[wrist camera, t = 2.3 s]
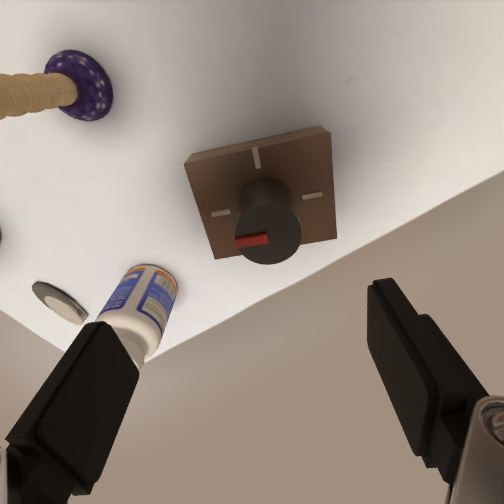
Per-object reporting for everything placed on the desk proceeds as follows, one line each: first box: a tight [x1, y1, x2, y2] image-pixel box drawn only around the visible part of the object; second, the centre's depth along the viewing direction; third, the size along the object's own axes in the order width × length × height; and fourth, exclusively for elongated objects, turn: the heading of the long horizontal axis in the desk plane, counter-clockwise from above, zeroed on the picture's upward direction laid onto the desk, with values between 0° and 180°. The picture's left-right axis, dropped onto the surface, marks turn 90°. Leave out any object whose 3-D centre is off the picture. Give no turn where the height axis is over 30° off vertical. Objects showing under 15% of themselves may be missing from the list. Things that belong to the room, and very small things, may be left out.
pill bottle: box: [95, 265, 177, 372], centre depth 25 cm, size 5×5×10 cm
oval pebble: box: [32, 283, 87, 325], centre depth 30 cm, size 6×2×1 cm, turn 38°
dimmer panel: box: [184, 126, 337, 259], centre depth 22 cm, size 10×8×3 cm
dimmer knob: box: [234, 178, 302, 265], centre depth 19 cm, size 4×4×5 cm
